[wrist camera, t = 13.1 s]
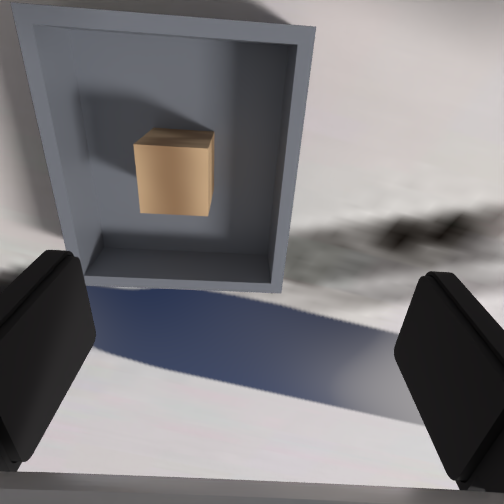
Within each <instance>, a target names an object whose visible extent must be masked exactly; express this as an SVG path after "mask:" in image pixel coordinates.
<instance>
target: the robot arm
mask: <svg viewBox="0 0 504 504" xmlns="http://www.w3.org/2000/svg"><path fill="white" fill-rule="evenodd" d="M95 337H96V331H95V326H94V321H93V317H92V312H91V308H90V303H89V298H88V294H87V290H86V284H85V280H84V275H83V271H82V266H81V262H80V259H79V258H78V257H74V255H73V253H72V252H71V251H61V250H46V251H45V252H43V253H42V254H41V255H40V256H39V257H38V258H37V259H36V260H35V261H34V262H33V263H32V264H31V265H30V266H29V267H28V268H27V269H26V270H24V271H23V272H22V273H21V274H20V275H19V276H18V277H17V278H16V279H15V280H14V281H13V282H12V283H11V284H10V285H9V286H8V287H7V288H6V289H4V290H3V291H2V292H1V293H0V504H504V330H503V329H502V327H501V326H500V325H499V324H498V323H497V322H496V321H495V320H494V318H493V317H492V316H491V315H490V314H489V313H488V312H487V311H486V309H485V308H484V307H483V306H482V305H481V304H480V303H479V302H478V300H477V299H476V298H475V297H474V296H473V295H472V294H471V292H470V291H469V290H468V289H467V288H466V287H465V286H464V285H463V283H462V282H461V281H460V280H459V279H458V278H457V277H456V276H455V275H454V274H453V273H450V272H433V271H430V272H428V273H427V274H426V275H425V276H422V277H421V278H420V279H419V281H418V283H417V286H416V289H415V292H414V294H413V297H412V300H411V303H410V305H409V308H408V311H407V314H406V316H405V319H404V322H403V325H402V328H401V330H400V333H399V336H398V339H397V341H396V345H395V348H394V356H395V360H396V362H397V364H398V366H399V369H400V371H401V373H402V375H403V378H404V380H405V382H406V384H407V387H408V388H409V391H410V393H411V395H412V398H413V400H414V402H415V404H416V406H417V409H418V411H419V413H420V415H421V418H422V420H423V422H424V424H425V426H426V429H427V431H428V433H429V435H430V438H431V440H432V442H433V444H434V446H435V449H436V451H437V453H438V455H439V457H440V460H441V462H442V464H443V466H444V469H445V471H446V473H447V475H448V476H449V477H450V479H452V480H455V481H456V483H457V485H458V487H459V489H460V490H448V489H427V488H406V487H386V486H365V485H344V484H323V483H300V482H277V481H254V480H230V479H207V478H183V477H157V476H130V475H104V474H77V473H50V472H17V470H18V468H19V466H20V465H21V463H22V462H26V461H28V460H29V459H30V458H31V456H32V454H33V453H34V451H35V449H36V447H37V446H38V444H39V442H40V440H41V438H42V437H43V435H44V433H45V431H46V429H47V428H48V426H49V424H50V422H51V420H52V419H53V417H54V415H55V413H56V411H57V409H58V408H59V406H60V404H61V402H62V400H63V399H64V397H65V395H66V393H67V391H68V390H69V388H70V386H71V384H72V382H73V381H74V379H75V377H76V375H77V373H78V371H79V370H80V368H81V366H82V364H83V362H84V361H85V359H86V357H87V355H88V353H89V352H90V350H91V348H92V346H93V344H94V342H95Z"/></svg>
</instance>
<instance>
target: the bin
mask: <svg viewBox="0 0 504 504" xmlns="http://www.w3.org/2000/svg"><path fill="white" fill-rule="evenodd" d="M10 3H11V8H12V12H13V17H14V21H15V26H16V30H17V34H18V39H19V43H20V48H21V52H22V57H23V61H24V65H25V70H26V74H27V79H28V83H29V88H30V92H31V96H32V101H33V105H34V110H35V114H36V119H37V123H38V128H39V132H40V136H41V141H42V145H43V150H44V154H45V159H46V163H47V167H48V172H49V176H50V181H51V185H52V190H53V194H54V198H55V203H56V207H57V212H58V216H59V221H60V225H61V230H62V234H63V238H64V243H65V247H66V251H71V252H72V253H73V255H74V257H78V258H79V259H80V262H81V266H82V271H83V275H84V280H85V284H86V285H87V286H88V285H89V286H112V287H137V288H162V289H188V290H212V291H236V292H261V293H281V291H282V283H283V276H284V268H285V260H286V253H287V245H288V238H289V230H290V222H291V215H292V207H293V199H294V192H295V184H296V177H297V169H298V161H299V154H300V146H301V139H302V131H303V123H304V116H305V108H306V100H307V93H308V85H309V78H310V70H311V62H312V55H313V47H314V39H315V32H316V27H313V26H301V25H288V24H276V23H263V22H251V21H238V20H226V19H213V18H201V17H188V16H176V15H163V14H151V13H138V12H126V11H113V10H101V9H88V8H75V7H63V6H50V5H38V4H25V3H13V2H10ZM152 128H166V129H182V130H198V131H214V191H213V196H212V200H211V205H210V210H209V214H208V216H191V215H171V214H150V213H140V204H139V195H138V185H137V175H136V165H135V155H134V145H133V144H134V143H136V142H137V141H138V140H139V139H140V138H142V137H143V136H144V135H145V134H146V133H148V132H149V131H150V130H151V129H152Z"/></svg>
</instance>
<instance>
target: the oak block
mask: <svg viewBox="0 0 504 504" xmlns="http://www.w3.org/2000/svg"><path fill="white" fill-rule="evenodd" d="M133 145H134V155H135V165H136V175H137V185H138V195H139V204H140V213H150V214H171V215H191V216H208V214H209V210H210V205H211V200H212V196H213V191H214V131H198V130H182V129H166V128H152V129H151V130H150V131H149V132H148V133H146V134H145V135H144V136H143V137H142V138H140V139H139V140H138V141H137V142H136V143H134V144H133Z"/></svg>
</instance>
